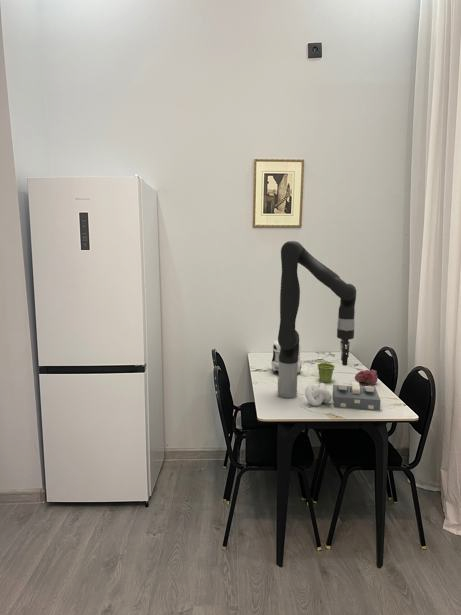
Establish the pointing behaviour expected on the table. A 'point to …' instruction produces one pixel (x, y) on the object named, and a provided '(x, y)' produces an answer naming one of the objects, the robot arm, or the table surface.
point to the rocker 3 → (369, 388)
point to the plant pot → (325, 372)
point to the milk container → (276, 357)
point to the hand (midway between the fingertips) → (344, 362)
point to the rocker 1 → (342, 387)
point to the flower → (367, 376)
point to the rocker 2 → (355, 388)
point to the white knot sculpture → (317, 394)
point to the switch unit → (356, 398)
